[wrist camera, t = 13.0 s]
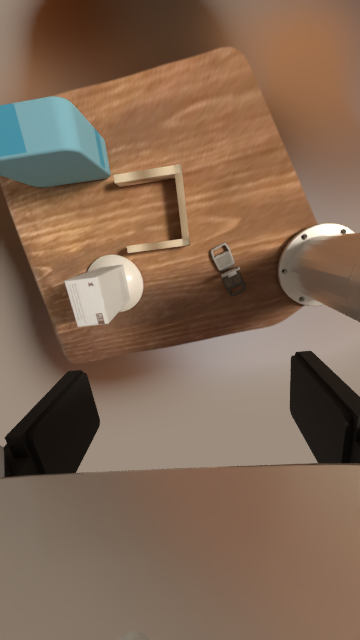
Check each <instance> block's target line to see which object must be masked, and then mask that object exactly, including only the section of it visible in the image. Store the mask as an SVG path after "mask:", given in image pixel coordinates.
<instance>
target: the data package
mask: <svg viewBox="0 0 360 640" xmlns="http://www.w3.org/2000/svg"><path fill="white" fill-rule="evenodd" d="M0 176H3V177H6V178H9V179H12V180H15V181H18V182H21V183H24V184H27V185H30V186H34V187H51V186H58V185H65V184H72V183H79V182H86V181H93V180H99V179H105V178H108V177H110V168H109V162H108V157H107V151H106V146H105V140H104V139H103V137H102V136H101V135H100V134H99V133H98V132H97V131H96V130H95V128H94V127H93V126H92V125H91V124H90V123H89V122H88V121H87V119H86V118H85V117H84V116H83V115H82V114H81V113H80V112H79V111H78V109H77V108H76V107H75V106H74V105H73V104H72V103H71V102H70V101H68V100H66V99H64V98H61V97H45V98H40V99H34V100H28V101H23V102H18V103H12V104H6V105H1V106H0Z"/></svg>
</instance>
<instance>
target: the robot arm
mask: <svg viewBox="0 0 360 640" xmlns="http://www.w3.org/2000/svg"><path fill="white" fill-rule="evenodd" d="M340 231H341V233H340ZM302 235H303V238H302V239H301V236H302ZM283 269H284V272H282V270H283ZM278 280H279V283H280V286H281V288H282V289H283V291H284V292H285V293H286V294H287V295H288V296H289V297H290V298H291V299H293V300H294V301H296V302H298V303H300V304H303V305H307V306H322V305H326V306H328V307H330V308H332V309H335V310H337V311H338V312H340V313H342V314H345V315H346V316H349V317H351V318H352V319H354V320H357V321H358V322H360V233H355V232H353V231H352V230H351V229H349V228H348V227H345V226H343V225H340V224H335V223H323V224H317V225H314V226H311V227H308V228H306V229H304V230H302V231H301V232H299V233H298V234H297V235H295V236H294V237H293V238H292V239H291V240H290V241H289V242H288V244H287V245H286V247H285V248H284V250H283V252H282V254H281V256H280V259H279V263H278ZM300 297H301V298H300ZM299 298H300V299H299ZM290 411H291V415H292V417H293V419H294V420H295V422H296V424H297V426H298V428H299V429H300V431H301V433H302V434H303V437H304V438H305V440H306V442H307V444H308V445H309V447H310V449H311V451H312V453H313V454H314V456H315V458H316V460H317V462H318V463H313V464H286V465H285V464H284V465H256V466H228V467H202V468H201V467H200V468H175V469H152V470H130V471H129V470H128V471H109V472H108V471H107V472H86V473H76V471H77V469H78V467H79V465H80V463H81V461H82V459H83V457H84V455H85V454H86V452H87V450H88V447H89V446H90V444H91V442H92V440H93V437H94V435H95V434H96V432H97V430H98V428H99V425H100V419H99V415H98V412H97V408H96V405H95V401H94V398H93V395H92V391H91V387H90V384H89V380H88V377H87V374H86V373H83V371H81V370H78V371H68V372H67V373H66V374H65V375H64V376H63V377H62V378H61V379H60V380H59V381H58V382H57V383H56V384H55V386H54V387H53V388H52V389H51V390H50V391H49V392H48V393H47V394H46V395H45V396H44V397H43V398H42V399H41V400H40V401H39V402H38V403H37V404H36V405H35V406H34V408H32V409H31V411H30V412H29V413H28V414H27V415H26V416H25V417H24V418H23V419H22V420H21V421H20V422H19V423H18V424H17V425H16V426H15V427H14V428H13V429H12V430H11V431H10V432H9V433H8V434H7V436H6V437H5V439H6V442H7V444H6V445H5V447H4V448H3V447H2V446H0V640H360V397H359V396H358V395H357V394H356V393H355V392H354V391H353V390H352V389H351V388H350V387H349V386H348V385H347V384H346V383H344V382H343V381H342V380H341V379H340V378H339V377H338V376H337V375H336V374H335V373H334V372H333V371H332V370H331V369H330V368H329V367H328V366H327V365H325V364H324V363H323V362H322V361H321V360H320V359H319V358H318V357H317V356H316V355H315V354H314V353H313V352H312V351H303V352H296V354H295V356H292V357H291V381H290Z"/></svg>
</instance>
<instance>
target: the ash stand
mask: <svg viewBox="0 0 360 640" xmlns="http://www.w3.org/2000/svg"><path fill="white" fill-rule="evenodd" d="M113 177H114V182H115V184H116V185H118V186H119V187H123V186H130V185H136V184H142V183H149V182H155V181H162V180H168V179H174V178H175V181H176V189H177V198H178V206H179V215H180V224H181V232H182V239H177V240H170V241H162V242H155V243H147V244H140V245H132V246H127V251H128V253H132V252H140V251H148V250H155V249H163V248H171V247H178V246H186V245H190V240H189V231H188V221H187V212H186V203H185V193H184V184H183V175H182V167H181V164H179V165H173V166H166V167H160V168H154V169H148V170H142V171H136V172H130V173H123V174H117V175H113Z"/></svg>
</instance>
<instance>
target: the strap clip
mask: <svg viewBox="0 0 360 640" xmlns="http://www.w3.org/2000/svg"><path fill="white" fill-rule="evenodd" d="M224 245H225V247H226V248H227V250H226V251H224V252H223V253H221V254H219V255H217V256H215V257H214V254H213V251H214V250H216V249H218V248H220V247H222V246H224ZM211 256H212V259H213V260H214V262H215V264H216V266H217V268H218V270H221V271H224V270H226V269H228V268H230V267H232V266H234V263H235V262H234V259H233V256H232V253H231V250H230V248H229V247H228V245H227V244H226V243H223V244H220V245H218V246H216V247H215V248H213V249H212V250H211ZM238 270H240V267H239V266H238V267H235V268H233V269H231V270H229V271H227V272H225V273H223V274H221V277H222V278H223V281H224V284H225V286H226V289H227V291H228V293H229V294H230V295H231V296H234V295H236V294H238V293H241V292H243V291H245V289H246V288H245V284H244V281H243V279H242V277H241V276H240V274H239V272H238ZM241 284H242V285H243V289H242V290H240V291H238V292H236V293H234V294H231V292H230V291H229V290H230V289H232V288H234V287H237V286H239V285H241Z"/></svg>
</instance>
